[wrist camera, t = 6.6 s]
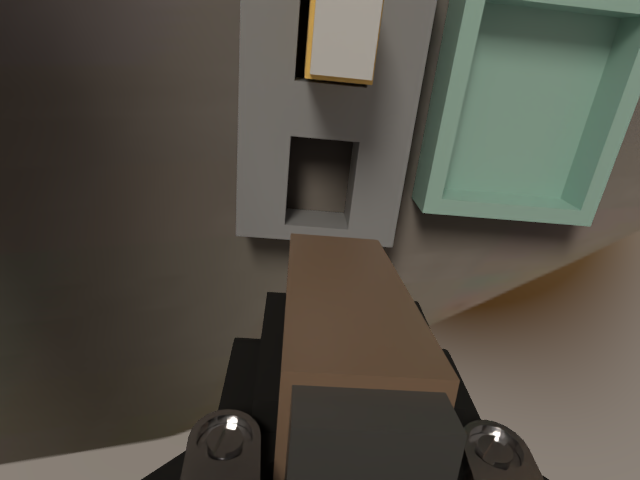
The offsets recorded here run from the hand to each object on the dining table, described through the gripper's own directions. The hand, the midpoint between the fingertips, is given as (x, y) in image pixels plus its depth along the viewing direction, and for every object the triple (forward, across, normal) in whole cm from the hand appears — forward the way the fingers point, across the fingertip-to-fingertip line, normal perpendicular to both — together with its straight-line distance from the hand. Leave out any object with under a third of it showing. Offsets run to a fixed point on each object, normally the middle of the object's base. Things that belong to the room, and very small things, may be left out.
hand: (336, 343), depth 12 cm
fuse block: (+18, 0, -4) cm, 19 cm away
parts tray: (+18, -12, -5) cm, 23 cm away
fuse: (+18, 0, -8) cm, 20 cm away
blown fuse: (+3, 0, +1) cm, 3 cm away
